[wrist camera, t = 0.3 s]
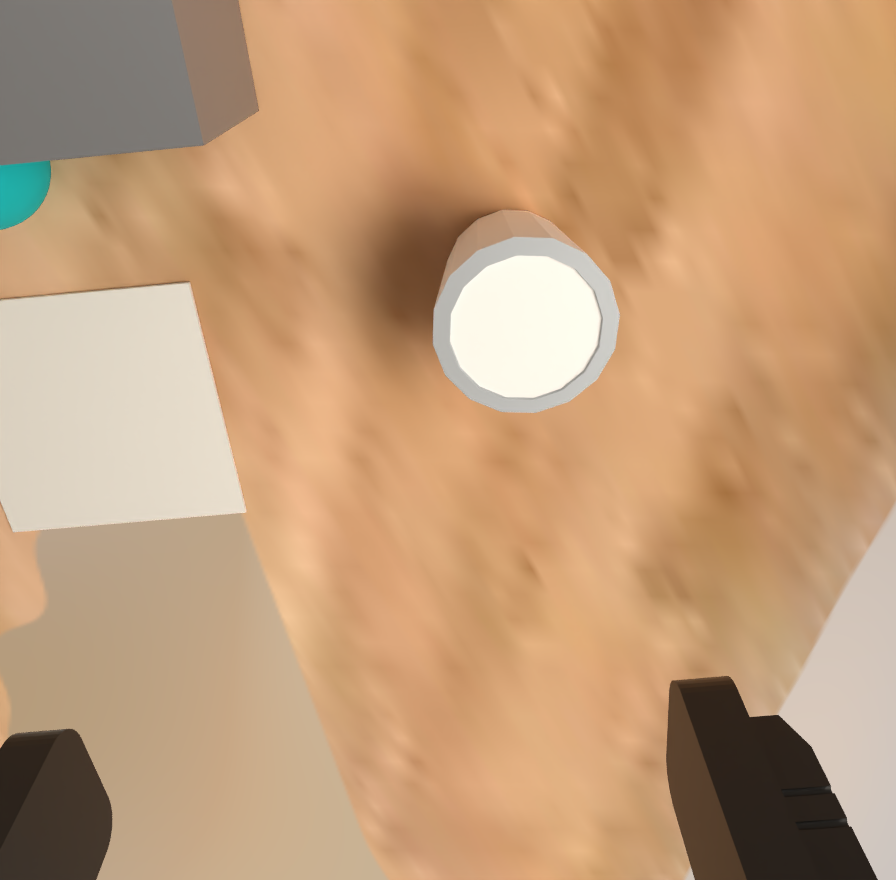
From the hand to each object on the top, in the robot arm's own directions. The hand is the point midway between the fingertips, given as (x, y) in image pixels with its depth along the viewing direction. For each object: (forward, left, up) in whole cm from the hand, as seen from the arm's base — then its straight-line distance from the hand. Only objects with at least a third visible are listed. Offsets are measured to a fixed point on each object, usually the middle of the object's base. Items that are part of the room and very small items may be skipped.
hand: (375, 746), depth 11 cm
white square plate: (+7, -16, -27) cm, 32 cm away
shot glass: (+2, +4, -27) cm, 28 cm away
